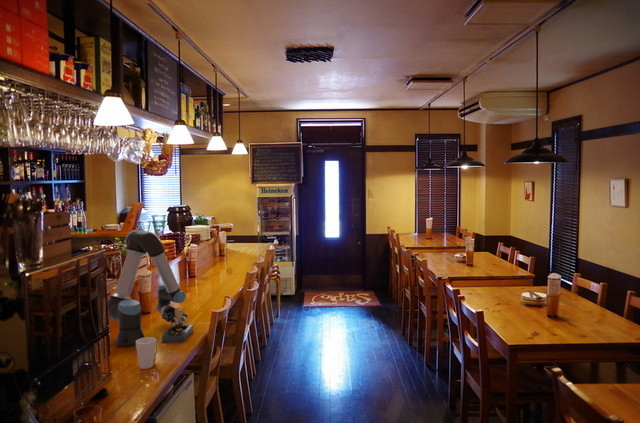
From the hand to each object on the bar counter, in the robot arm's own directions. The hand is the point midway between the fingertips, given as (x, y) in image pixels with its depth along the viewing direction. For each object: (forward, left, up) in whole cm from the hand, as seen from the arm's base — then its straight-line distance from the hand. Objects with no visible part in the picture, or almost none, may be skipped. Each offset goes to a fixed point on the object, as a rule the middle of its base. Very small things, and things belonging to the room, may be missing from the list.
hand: (181, 321), depth 257 cm
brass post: (-5, +1, -9) cm, 10 cm away
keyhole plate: (-5, 0, -10) cm, 12 cm away
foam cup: (+23, -32, -11) cm, 40 cm away
